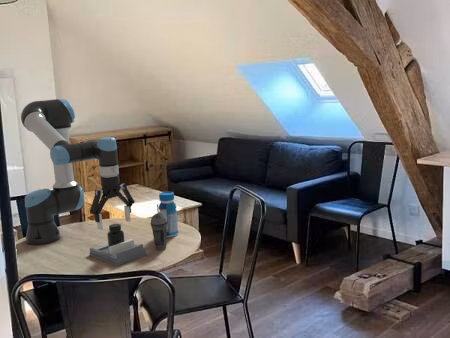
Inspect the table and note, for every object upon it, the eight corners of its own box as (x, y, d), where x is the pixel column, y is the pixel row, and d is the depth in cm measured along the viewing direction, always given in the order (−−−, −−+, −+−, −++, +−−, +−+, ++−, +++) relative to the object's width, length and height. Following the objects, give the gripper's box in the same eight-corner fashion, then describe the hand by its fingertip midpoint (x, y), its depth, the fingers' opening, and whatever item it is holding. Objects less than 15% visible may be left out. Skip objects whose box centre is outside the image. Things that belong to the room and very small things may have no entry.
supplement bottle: (121, 255, 201) (118, 228, 199) (106, 255, 203) (103, 227, 200) (128, 249, 208) (125, 222, 205) (113, 249, 209) (110, 222, 207)
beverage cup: (168, 244, 214) (165, 200, 210) (170, 250, 207) (166, 204, 203) (152, 246, 213) (148, 202, 209) (153, 252, 206) (149, 206, 202)
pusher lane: (89, 255, 207) (88, 243, 206) (119, 244, 217) (118, 234, 216) (116, 266, 193) (115, 254, 192) (146, 254, 203) (145, 243, 202)
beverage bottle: (177, 237, 223) (174, 195, 219) (159, 238, 223) (155, 195, 219) (179, 231, 231) (176, 190, 227) (162, 232, 232) (158, 191, 228)
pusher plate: (110, 258, 199) (108, 246, 198) (133, 249, 207) (131, 239, 206) (111, 258, 198) (110, 247, 197) (134, 250, 206) (133, 239, 205)
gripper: (87, 182, 187) (92, 235, 191) (140, 170, 204) (144, 219, 209) (77, 180, 192) (83, 231, 196) (129, 168, 209) (133, 215, 214)
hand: (114, 225), depth 203 cm, fingers open, 13 cm apart
